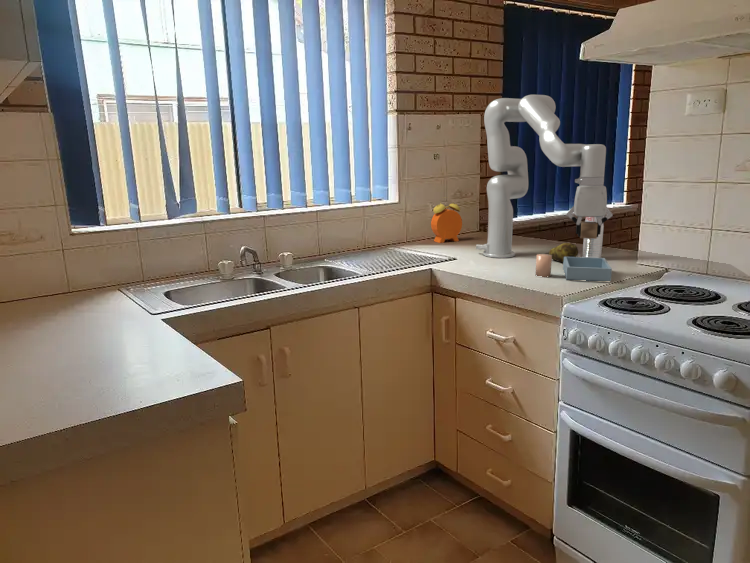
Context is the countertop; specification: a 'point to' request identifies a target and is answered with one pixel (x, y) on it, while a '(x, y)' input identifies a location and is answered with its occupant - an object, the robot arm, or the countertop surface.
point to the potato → (564, 251)
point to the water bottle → (593, 242)
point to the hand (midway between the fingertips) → (587, 235)
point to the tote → (587, 269)
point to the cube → (589, 230)
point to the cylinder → (543, 265)
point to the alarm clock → (446, 223)
